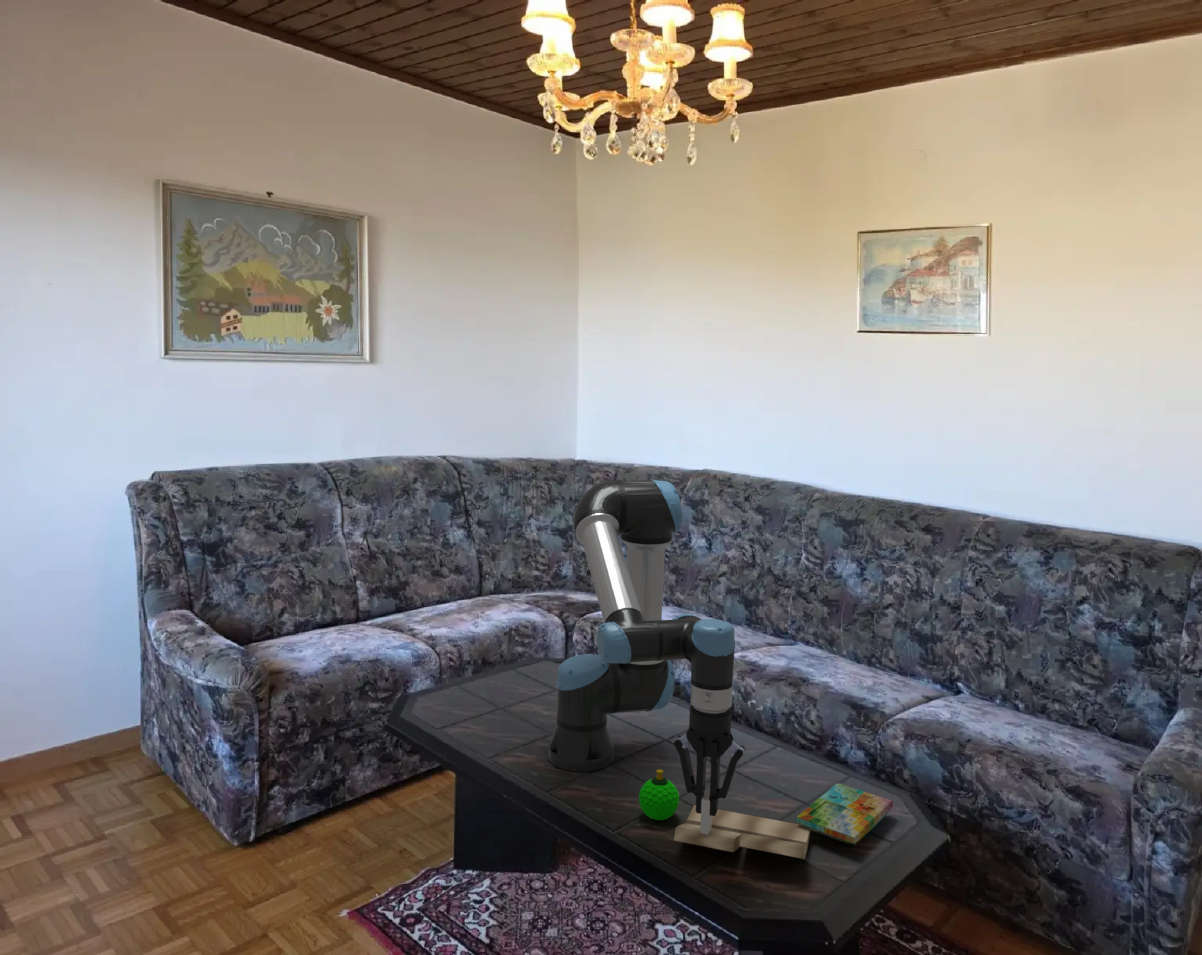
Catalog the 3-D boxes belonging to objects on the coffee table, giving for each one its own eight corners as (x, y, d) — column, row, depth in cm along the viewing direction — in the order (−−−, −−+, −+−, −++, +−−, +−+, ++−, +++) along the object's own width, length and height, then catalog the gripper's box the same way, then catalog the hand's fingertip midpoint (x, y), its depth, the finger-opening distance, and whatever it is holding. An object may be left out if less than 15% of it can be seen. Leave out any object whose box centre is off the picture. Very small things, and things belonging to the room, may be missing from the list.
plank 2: (739, 845, 159) (740, 832, 160) (745, 847, 167) (747, 834, 168) (801, 858, 156) (802, 844, 156) (804, 858, 163) (806, 845, 164)
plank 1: (674, 840, 163) (675, 827, 163) (684, 834, 171) (685, 822, 172) (733, 851, 159) (734, 838, 160) (740, 846, 168) (741, 833, 168)
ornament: (638, 807, 182) (639, 761, 181) (677, 808, 182) (679, 762, 180) (638, 827, 174) (639, 779, 173) (679, 829, 174) (681, 781, 172)
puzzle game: (893, 796, 179) (854, 833, 163) (891, 818, 180) (852, 857, 164) (838, 778, 186) (796, 812, 171) (837, 799, 187) (794, 835, 171)
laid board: (685, 833, 172) (686, 821, 172) (693, 815, 179) (694, 804, 178) (805, 856, 165) (806, 844, 164) (809, 837, 171) (810, 825, 171)
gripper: (670, 708, 158) (666, 833, 161) (743, 718, 154) (737, 846, 157) (680, 694, 165) (676, 814, 168) (750, 704, 161) (744, 827, 164)
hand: (705, 830), depth 162 cm, fingers closed
